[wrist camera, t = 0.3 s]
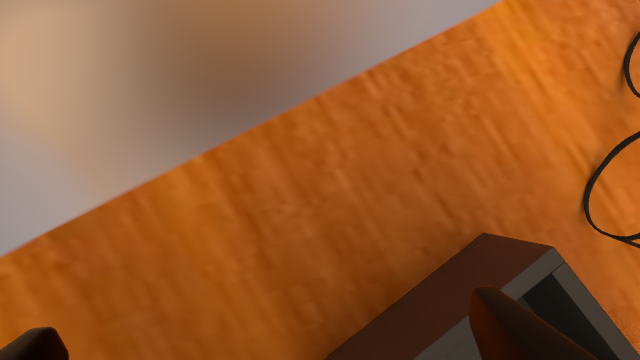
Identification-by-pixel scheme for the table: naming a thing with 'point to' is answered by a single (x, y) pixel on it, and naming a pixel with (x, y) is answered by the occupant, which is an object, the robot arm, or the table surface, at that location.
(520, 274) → the case
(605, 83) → the table surface
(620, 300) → the table surface
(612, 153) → the glasses
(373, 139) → the table surface
